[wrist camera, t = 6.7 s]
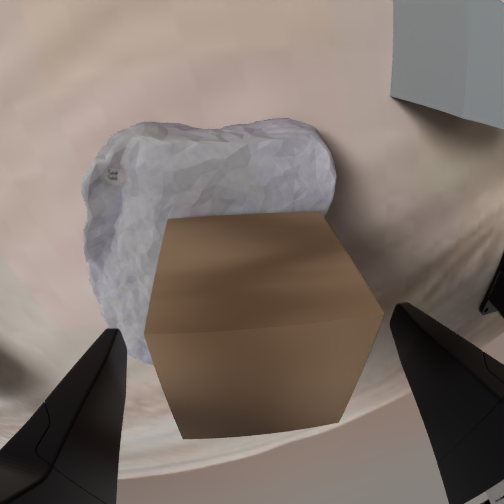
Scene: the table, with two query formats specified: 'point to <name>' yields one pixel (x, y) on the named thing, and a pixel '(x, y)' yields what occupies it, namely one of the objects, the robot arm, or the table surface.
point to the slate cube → (451, 57)
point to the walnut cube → (257, 323)
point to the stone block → (187, 198)
